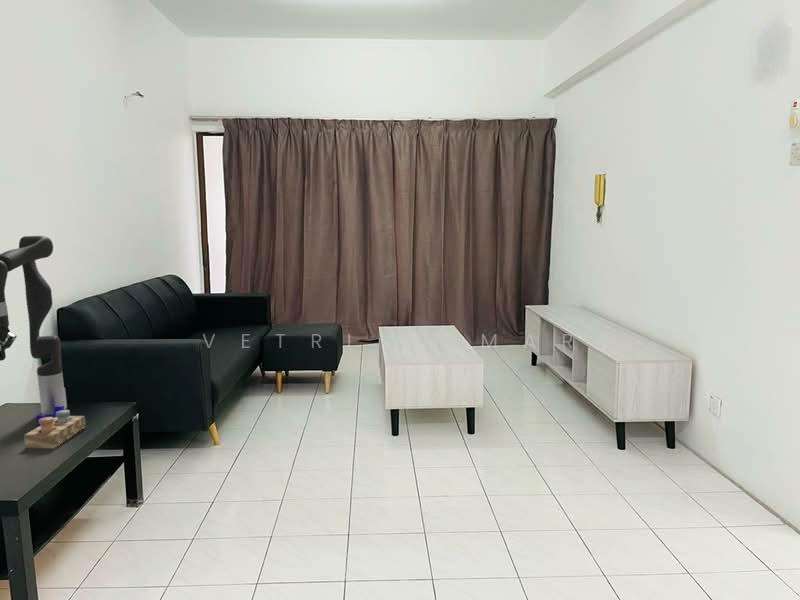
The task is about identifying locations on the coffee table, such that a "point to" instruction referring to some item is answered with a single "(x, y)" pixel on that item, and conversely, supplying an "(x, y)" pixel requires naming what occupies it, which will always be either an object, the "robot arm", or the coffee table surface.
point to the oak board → (54, 433)
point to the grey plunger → (63, 416)
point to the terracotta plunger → (46, 424)
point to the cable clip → (57, 408)
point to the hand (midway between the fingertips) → (1, 360)
